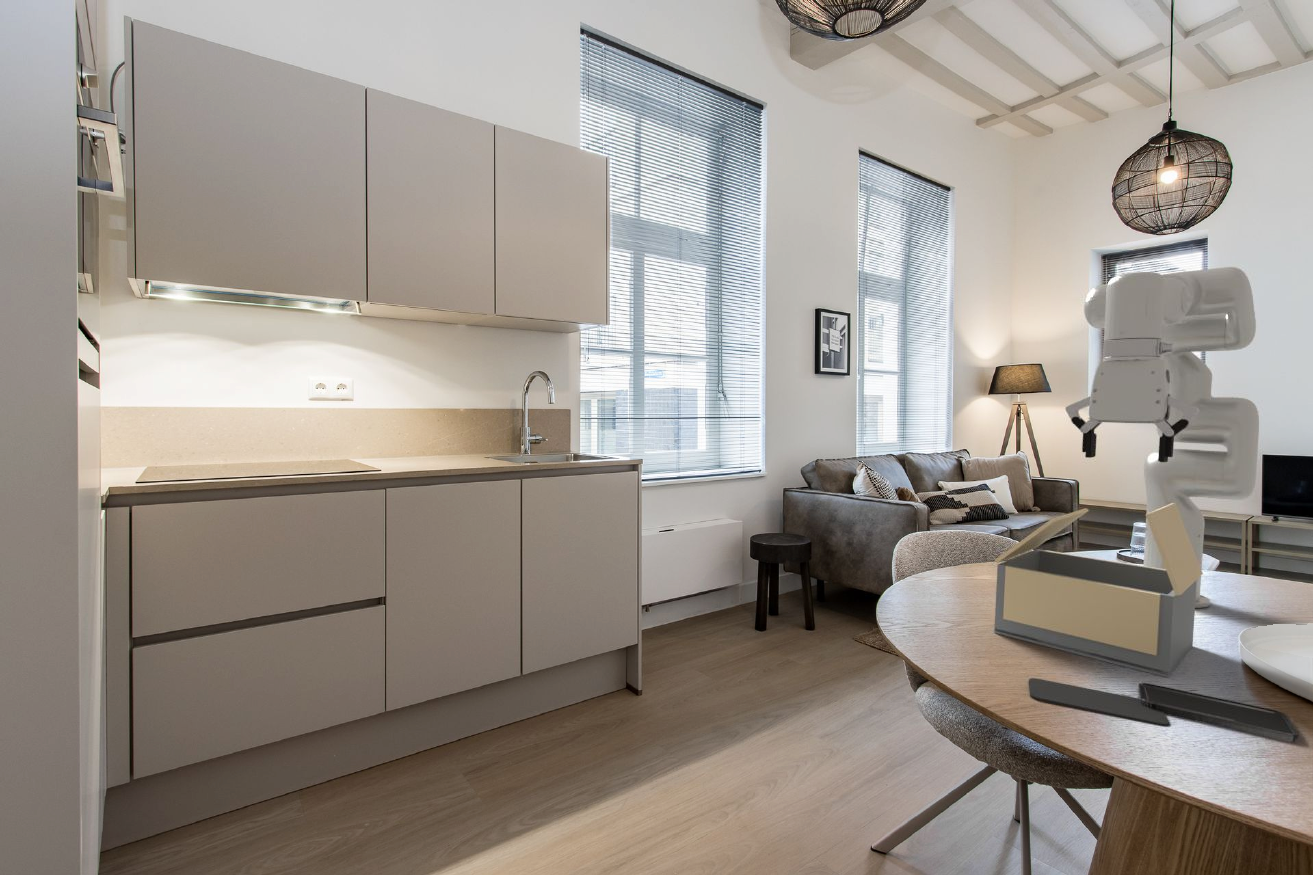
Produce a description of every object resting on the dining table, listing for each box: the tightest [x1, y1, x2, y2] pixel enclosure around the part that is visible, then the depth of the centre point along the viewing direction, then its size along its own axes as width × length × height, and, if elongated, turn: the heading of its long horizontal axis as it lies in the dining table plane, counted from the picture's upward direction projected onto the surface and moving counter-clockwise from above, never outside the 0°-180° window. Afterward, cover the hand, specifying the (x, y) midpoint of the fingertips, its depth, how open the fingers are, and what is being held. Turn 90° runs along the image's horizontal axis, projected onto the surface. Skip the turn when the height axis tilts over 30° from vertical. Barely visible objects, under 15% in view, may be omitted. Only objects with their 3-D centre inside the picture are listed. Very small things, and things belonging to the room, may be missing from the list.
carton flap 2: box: [1144, 503, 1204, 595], centre depth 101 cm, size 20×12×1 cm
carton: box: [993, 548, 1197, 679], centre depth 109 cm, size 21×24×12 cm
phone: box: [1027, 677, 1170, 727], centre depth 85 cm, size 7×1×15 cm
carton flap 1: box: [994, 507, 1090, 564], centre depth 115 cm, size 20×12×1 cm
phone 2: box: [1138, 682, 1300, 744], centre depth 83 cm, size 8×1×15 cm
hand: (1125, 459), depth 103 cm, fingers open, 9 cm apart
